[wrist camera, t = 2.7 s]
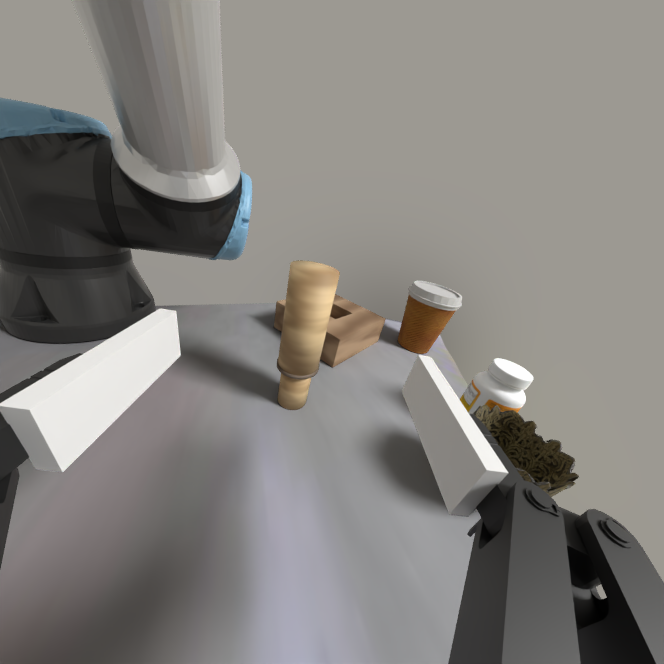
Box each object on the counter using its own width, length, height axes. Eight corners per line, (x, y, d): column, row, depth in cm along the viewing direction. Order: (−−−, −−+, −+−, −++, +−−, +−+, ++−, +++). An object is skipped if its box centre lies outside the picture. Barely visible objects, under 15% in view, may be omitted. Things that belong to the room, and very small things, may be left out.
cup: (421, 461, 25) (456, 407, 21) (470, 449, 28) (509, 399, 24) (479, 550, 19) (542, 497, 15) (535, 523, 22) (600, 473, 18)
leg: (264, 396, 28) (278, 260, 20) (293, 380, 31) (314, 259, 24) (290, 421, 26) (316, 278, 18) (318, 401, 29) (350, 274, 22)
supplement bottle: (501, 438, 30) (550, 380, 26) (478, 451, 27) (528, 389, 23) (464, 407, 34) (501, 352, 30) (441, 416, 31) (477, 357, 27)
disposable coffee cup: (425, 365, 42) (456, 303, 36) (381, 339, 47) (402, 282, 41) (442, 349, 49) (471, 295, 43) (402, 329, 54) (422, 278, 48)
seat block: (273, 326, 42) (276, 301, 40) (324, 312, 53) (329, 291, 50) (332, 367, 36) (340, 339, 33) (377, 341, 46) (385, 318, 44)
